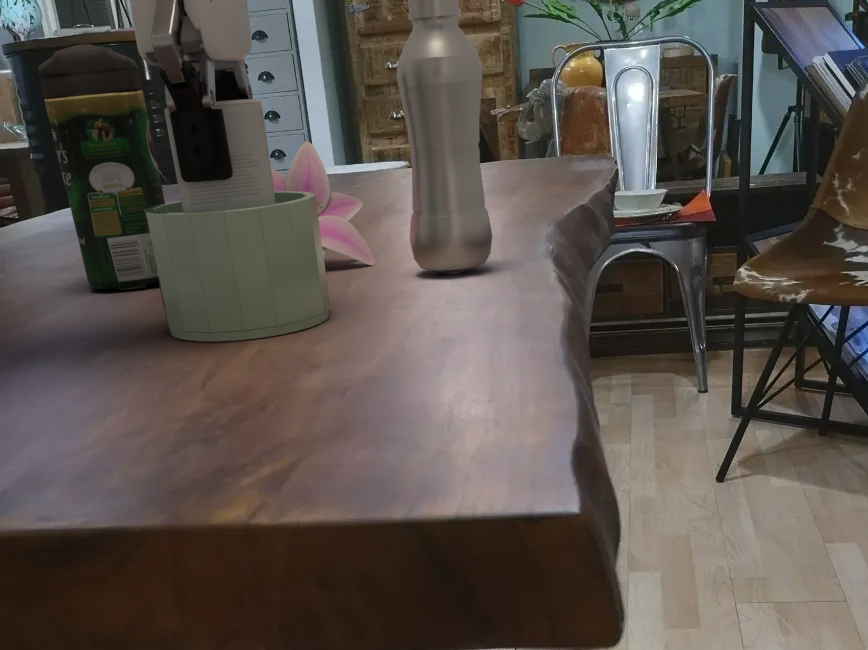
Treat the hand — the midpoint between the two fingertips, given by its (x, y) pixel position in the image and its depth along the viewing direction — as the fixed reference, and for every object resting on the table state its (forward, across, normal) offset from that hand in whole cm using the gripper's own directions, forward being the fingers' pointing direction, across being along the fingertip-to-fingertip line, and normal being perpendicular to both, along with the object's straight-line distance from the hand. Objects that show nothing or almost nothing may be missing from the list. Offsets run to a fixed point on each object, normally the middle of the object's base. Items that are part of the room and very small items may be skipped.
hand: (224, 172), depth 73 cm
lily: (+10, -22, 0) cm, 24 cm away
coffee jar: (+10, -21, -16) cm, 28 cm away
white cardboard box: (+3, 0, 0) cm, 3 cm away
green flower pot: (+10, 0, 0) cm, 10 cm away
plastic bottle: (+10, -16, +13) cm, 23 cm away
